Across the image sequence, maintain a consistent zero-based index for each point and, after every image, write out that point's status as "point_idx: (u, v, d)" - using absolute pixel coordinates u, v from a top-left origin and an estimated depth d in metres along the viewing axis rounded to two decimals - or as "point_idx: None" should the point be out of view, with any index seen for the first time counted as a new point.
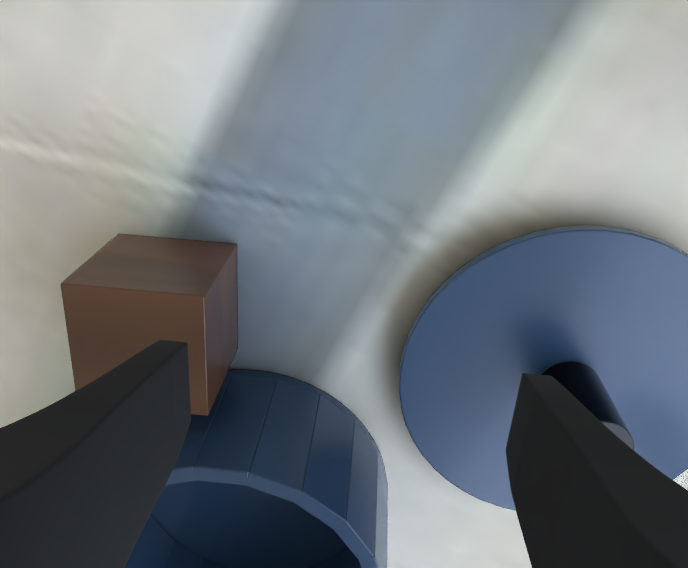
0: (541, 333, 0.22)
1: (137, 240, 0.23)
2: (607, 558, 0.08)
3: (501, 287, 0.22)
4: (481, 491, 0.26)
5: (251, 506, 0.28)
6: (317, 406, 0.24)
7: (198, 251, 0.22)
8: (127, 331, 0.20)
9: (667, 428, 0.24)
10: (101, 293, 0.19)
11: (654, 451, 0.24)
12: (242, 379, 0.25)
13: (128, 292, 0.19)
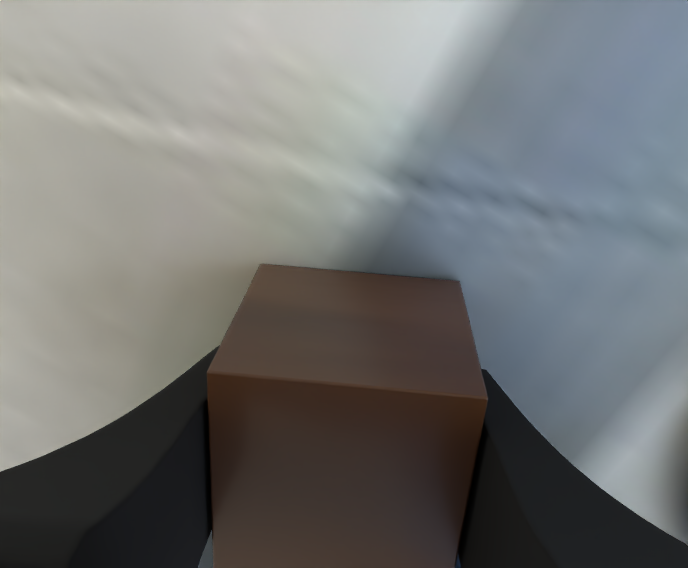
0: None
1: (298, 275, 0.13)
2: (507, 548, 0.08)
3: None
4: None
5: None
6: None
7: (410, 298, 0.13)
8: (326, 457, 0.10)
9: None
10: (285, 390, 0.10)
11: None
12: None
13: (338, 388, 0.10)
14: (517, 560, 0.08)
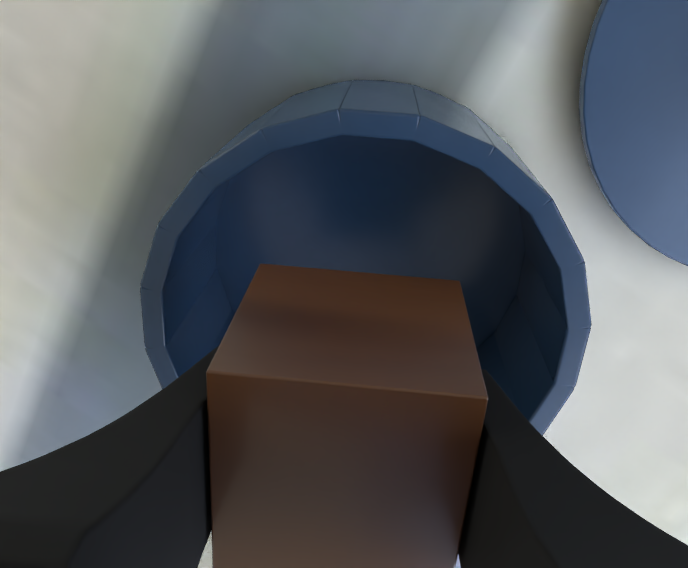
0: None
1: (298, 275, 0.13)
2: (507, 548, 0.08)
3: None
4: (675, 245, 0.20)
5: None
6: (470, 113, 0.18)
7: (410, 297, 0.13)
8: (326, 457, 0.10)
9: None
10: (285, 389, 0.10)
11: None
12: (368, 82, 0.18)
13: (337, 388, 0.10)
14: (517, 560, 0.08)
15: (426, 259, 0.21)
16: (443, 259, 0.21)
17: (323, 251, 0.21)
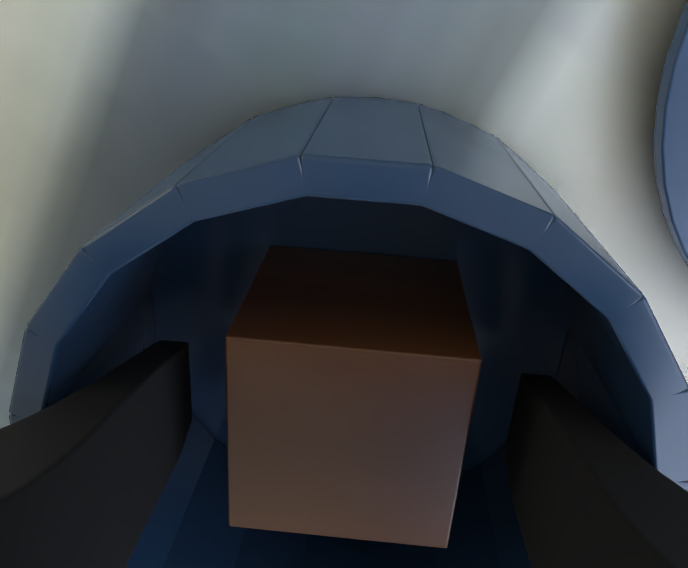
0: None
1: (306, 256, 0.14)
2: (606, 558, 0.08)
3: None
4: None
5: None
6: (501, 145, 0.13)
7: (410, 274, 0.14)
8: (333, 416, 0.11)
9: None
10: (297, 354, 0.11)
11: None
12: (355, 101, 0.13)
13: (345, 352, 0.11)
14: None
15: None
16: None
17: None
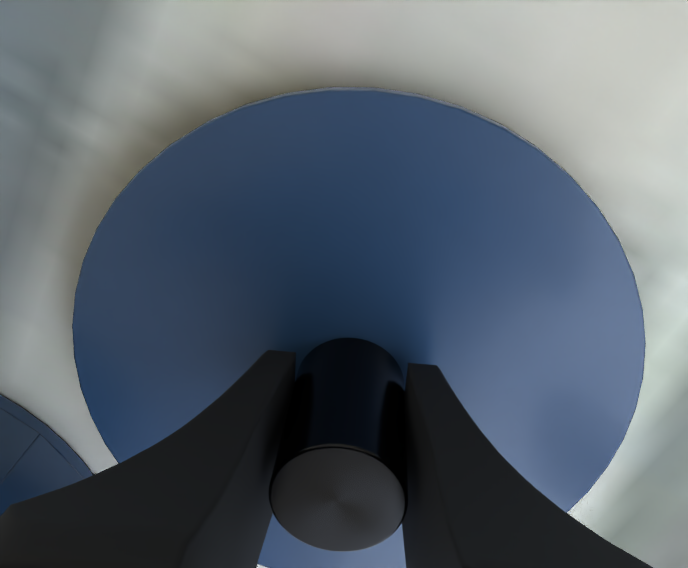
0: (290, 288, 0.13)
1: None
2: (432, 540, 0.08)
3: (206, 204, 0.12)
4: None
5: None
6: None
7: None
8: None
9: (523, 450, 0.14)
10: None
11: None
12: None
13: None
14: (437, 552, 0.08)
15: None
16: None
17: None
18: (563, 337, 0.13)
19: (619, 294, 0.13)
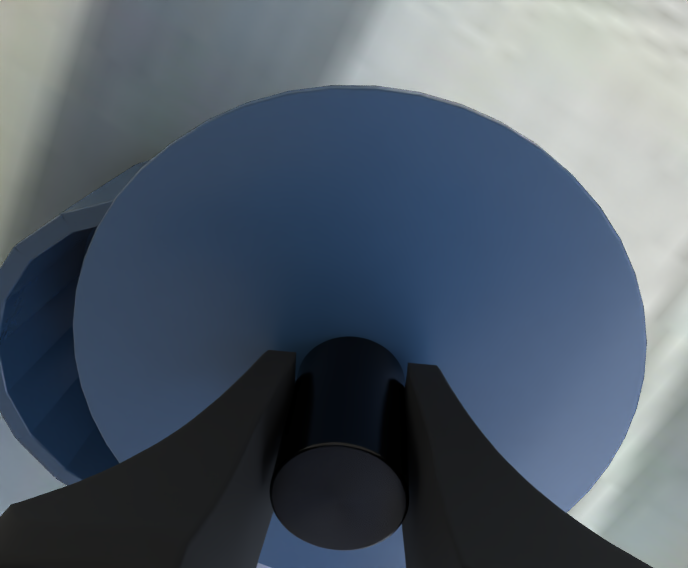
0: (291, 287, 0.13)
1: None
2: (432, 540, 0.08)
3: (207, 203, 0.12)
4: None
5: None
6: None
7: None
8: None
9: (524, 449, 0.14)
10: None
11: None
12: None
13: None
14: (437, 552, 0.08)
15: None
16: None
17: None
18: (564, 336, 0.13)
19: (620, 293, 0.13)
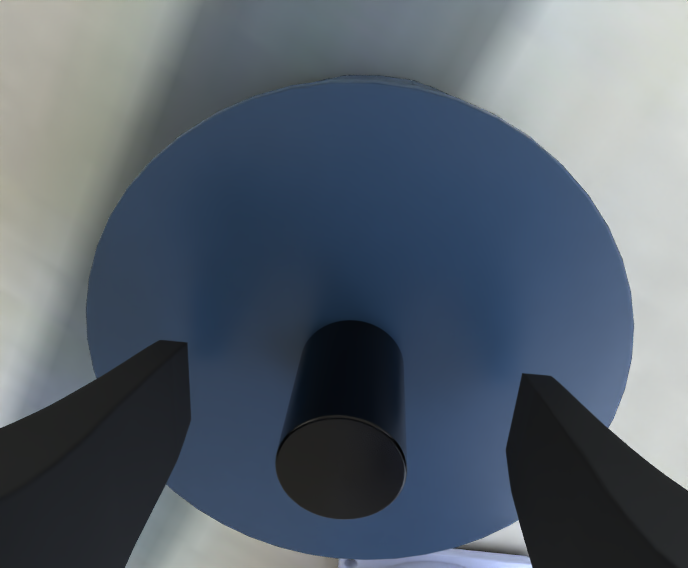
0: (295, 272, 0.14)
1: None
2: (607, 558, 0.08)
3: (215, 192, 0.13)
4: (250, 525, 0.17)
5: None
6: None
7: None
8: None
9: None
10: None
11: (502, 465, 0.15)
12: (364, 77, 0.17)
13: None
14: None
15: None
16: None
17: None
18: (555, 319, 0.14)
19: (608, 277, 0.13)
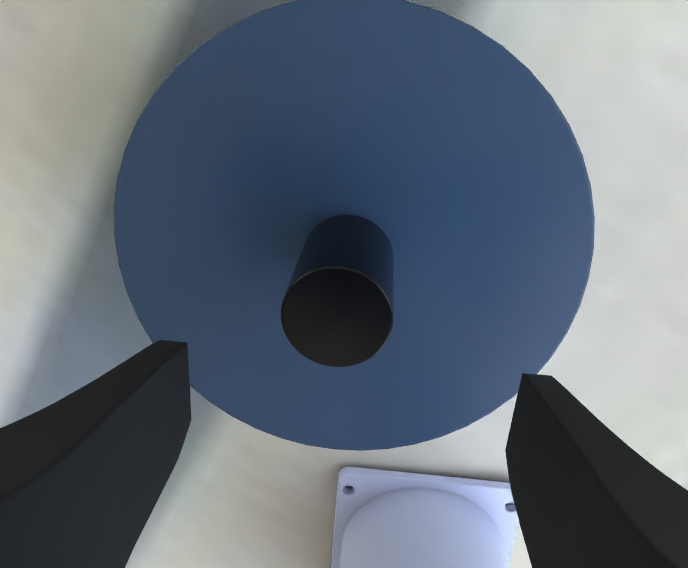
0: (298, 170, 0.16)
1: None
2: (607, 558, 0.08)
3: (229, 96, 0.15)
4: (256, 417, 0.19)
5: None
6: None
7: None
8: None
9: (495, 318, 0.17)
10: None
11: (481, 354, 0.17)
12: None
13: None
14: None
15: None
16: None
17: None
18: (525, 212, 0.16)
19: (571, 172, 0.15)
